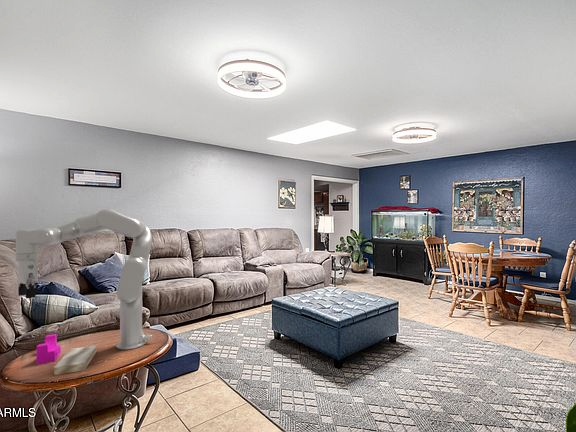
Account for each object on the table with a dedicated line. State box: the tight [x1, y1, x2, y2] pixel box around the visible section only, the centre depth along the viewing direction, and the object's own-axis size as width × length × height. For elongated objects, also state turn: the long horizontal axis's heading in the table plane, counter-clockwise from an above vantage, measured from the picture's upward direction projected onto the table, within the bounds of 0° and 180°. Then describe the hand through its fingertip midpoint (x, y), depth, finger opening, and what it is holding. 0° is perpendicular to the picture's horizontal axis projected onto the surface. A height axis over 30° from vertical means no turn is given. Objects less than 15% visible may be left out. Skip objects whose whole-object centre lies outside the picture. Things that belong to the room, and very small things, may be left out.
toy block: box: [36, 333, 62, 365], centre depth 139 cm, size 15×6×8 cm, turn 25°
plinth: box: [53, 345, 97, 376], centre depth 131 cm, size 10×19×3 cm, turn 20°
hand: (26, 296), depth 137 cm, fingers open, 9 cm apart
